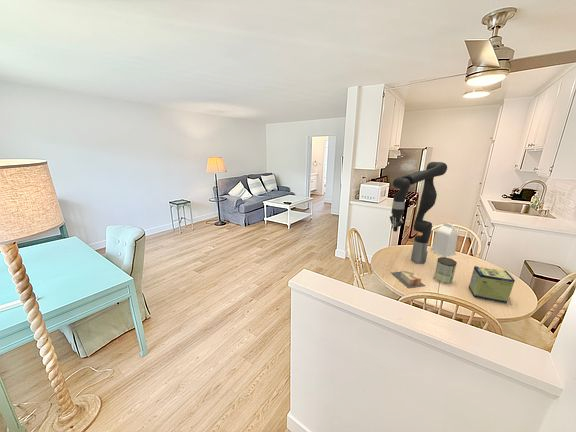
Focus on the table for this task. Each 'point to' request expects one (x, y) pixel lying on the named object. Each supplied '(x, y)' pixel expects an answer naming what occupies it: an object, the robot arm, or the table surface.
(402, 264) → the table surface
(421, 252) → the robot arm
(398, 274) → the mat
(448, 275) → the coffee can
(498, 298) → the protein box
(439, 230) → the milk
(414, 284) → the block
